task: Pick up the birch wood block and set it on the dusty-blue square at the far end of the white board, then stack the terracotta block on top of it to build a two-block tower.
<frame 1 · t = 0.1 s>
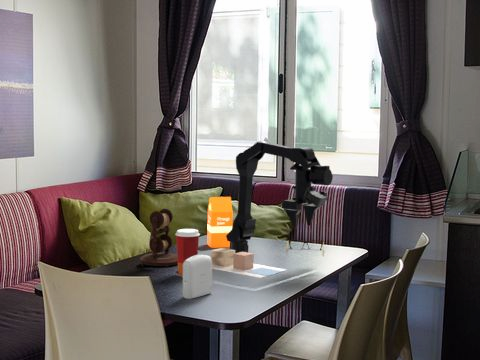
hand: (302, 226, 267), 15 cm above the table, tool pointing down, fingers open, 9 cm apart
wooden spool stand: (160, 266, 268), on the table
orange juice: (219, 246, 307), on the table
eyeglasses: (305, 253, 297), on the table
terracotta block: (243, 267, 262), point 1 cm above the table, touching white board
coffee cup: (187, 274, 255), on the table
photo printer: (197, 296, 227), on the table
birch block: (223, 264, 267), point 1 cm above the table, touching white board
white board: (243, 270, 262), on the table
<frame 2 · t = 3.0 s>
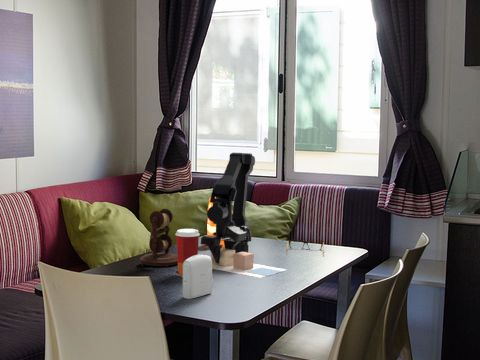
hand: (223, 261, 267), 2 cm above the table, tool pointing down, fingers closed on birch block, 6 cm apart
birch block: (223, 264, 267), point 1 cm above the table, touching white board, gripper
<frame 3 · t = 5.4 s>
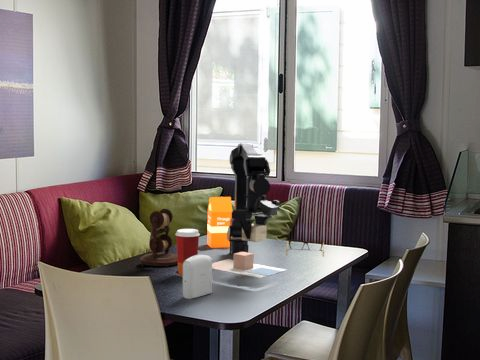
hand: (254, 237, 257), 12 cm above the table, tool pointing down, fingers closed on birch block, 6 cm apart
birch block: (254, 240, 257), point 11 cm above the table, touching gripper
when the fingers open (3 cm above the table, at t = 7.8 s): birch block drops 1 cm, resting on white board.
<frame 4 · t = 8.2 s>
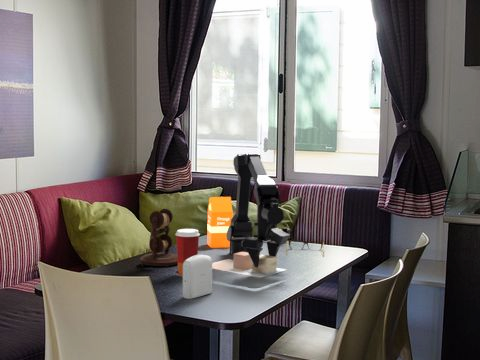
hand: (264, 265, 256), 3 cm above the table, tool pointing down, fingers open, 9 cm apart
birch block: (264, 271, 256), point 1 cm above the table, touching white board
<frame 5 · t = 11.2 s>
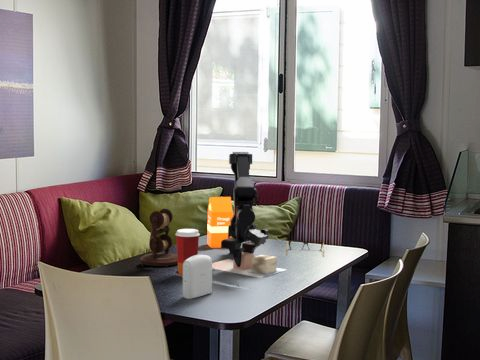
hand: (243, 265, 261), 2 cm above the table, tool pointing down, fingers closed on terracotta block, 5 cm apart
terracotta block: (243, 267, 262), point 1 cm above the table, touching white board, gripper
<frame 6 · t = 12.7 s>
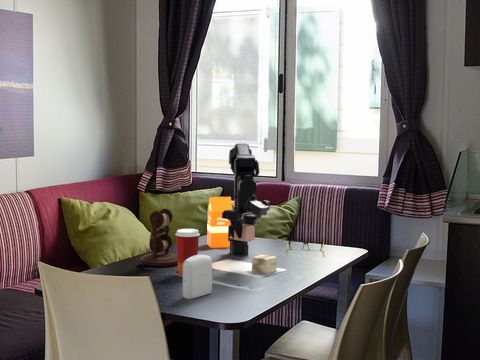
hand: (244, 237, 260), 12 cm above the table, tool pointing down, fingers closed on terracotta block, 5 cm apart
terracotta block: (244, 239, 260), point 11 cm above the table, touching gripper
when the fingers open (8 cm above the table, at t = 14.6 s): terracotta block drops 1 cm, resting on birch block.
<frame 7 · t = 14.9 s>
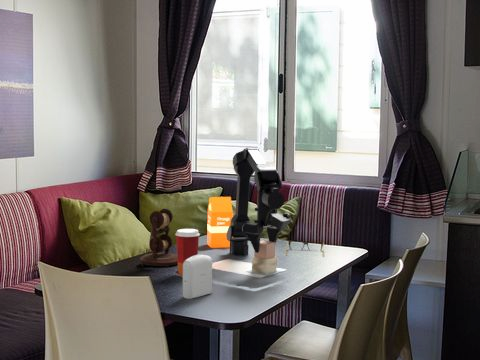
hand: (264, 250, 255), 8 cm above the table, tool pointing down, fingers open, 9 cm apart
terracotta block: (264, 256, 256), point 6 cm above the table, touching birch block
birch block: (264, 271, 256), point 1 cm above the table, touching white board, terracotta block
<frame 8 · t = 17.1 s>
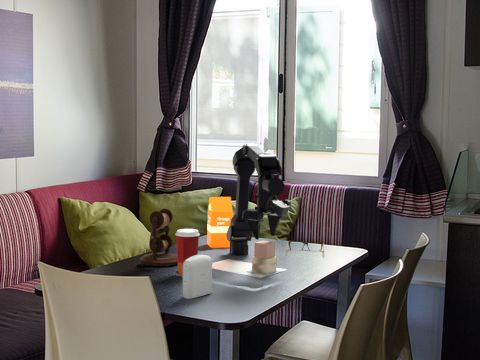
hand: (265, 237, 255), 13 cm above the table, tool pointing down, fingers open, 9 cm apart
at the end: birch block 0.0 cm from the target spot, point 1.1 cm above the table; terracotta block 0.1 cm off-centre on the birch block, point 5.0 cm above the birch block's base; terracotta block tilted 0° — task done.
